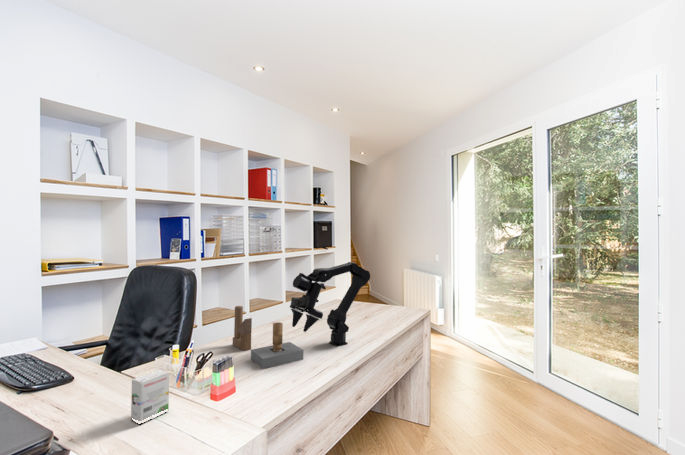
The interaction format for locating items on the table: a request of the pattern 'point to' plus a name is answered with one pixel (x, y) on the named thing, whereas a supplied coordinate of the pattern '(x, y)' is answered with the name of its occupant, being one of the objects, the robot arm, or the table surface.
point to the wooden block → (242, 330)
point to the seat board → (276, 355)
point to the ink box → (149, 395)
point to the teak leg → (277, 337)
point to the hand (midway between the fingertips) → (298, 329)
